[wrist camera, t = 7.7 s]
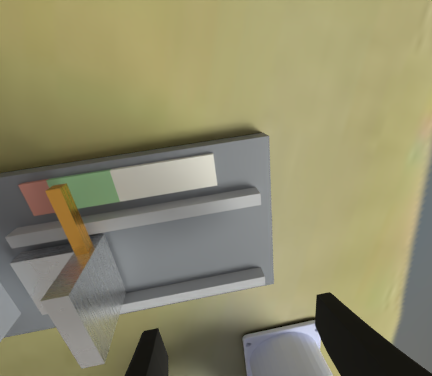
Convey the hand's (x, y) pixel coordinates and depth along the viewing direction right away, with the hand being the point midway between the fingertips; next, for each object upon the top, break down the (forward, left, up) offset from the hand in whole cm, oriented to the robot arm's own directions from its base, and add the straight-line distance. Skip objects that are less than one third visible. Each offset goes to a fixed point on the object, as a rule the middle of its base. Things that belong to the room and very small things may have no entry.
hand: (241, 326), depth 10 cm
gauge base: (+1, +7, -8) cm, 10 cm away
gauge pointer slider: (+2, +10, -6) cm, 12 cm away
